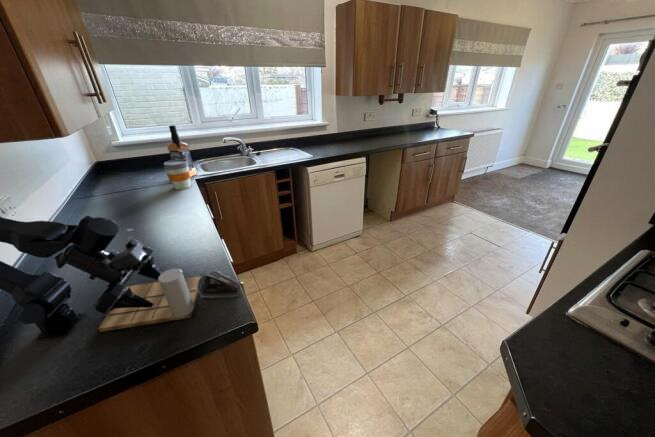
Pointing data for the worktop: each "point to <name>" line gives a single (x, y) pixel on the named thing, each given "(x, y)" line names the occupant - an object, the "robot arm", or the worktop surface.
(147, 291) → the board
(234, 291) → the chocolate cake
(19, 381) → the worktop surface
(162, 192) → the worktop surface
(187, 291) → the white plastic cylinder
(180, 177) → the reusable coffee cup
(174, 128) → the whiskey bottle
